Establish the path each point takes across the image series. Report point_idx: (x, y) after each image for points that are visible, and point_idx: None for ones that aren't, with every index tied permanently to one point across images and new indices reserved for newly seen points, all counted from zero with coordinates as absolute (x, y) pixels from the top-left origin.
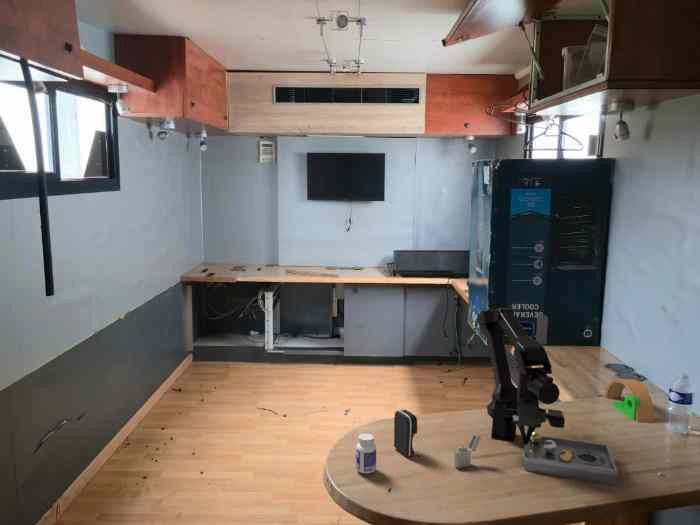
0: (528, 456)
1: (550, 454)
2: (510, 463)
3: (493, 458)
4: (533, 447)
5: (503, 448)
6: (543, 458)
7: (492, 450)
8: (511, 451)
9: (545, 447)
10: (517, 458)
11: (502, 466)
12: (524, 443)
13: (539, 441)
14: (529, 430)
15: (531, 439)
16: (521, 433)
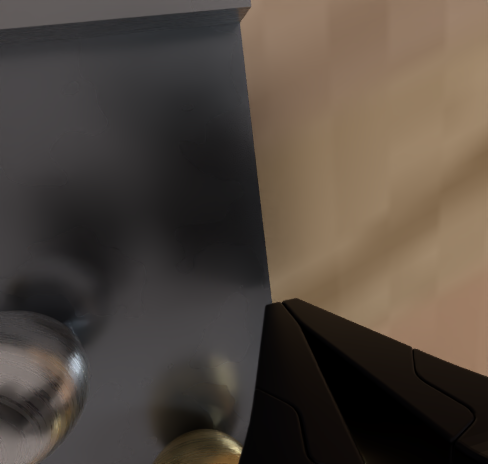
0: (218, 143)
1: (13, 303)
2: (340, 107)
3: (457, 131)
4: (200, 354)
5: (391, 311)
6: (58, 176)
7: (457, 248)
8: (341, 298)
9: (49, 335)
10: (296, 218)
11: (398, 20)
12: (295, 301)
13: (159, 453)
14: (330, 451)
15: (235, 442)
16: (416, 354)
